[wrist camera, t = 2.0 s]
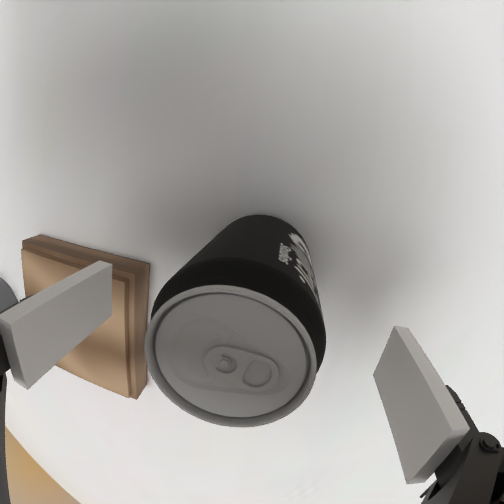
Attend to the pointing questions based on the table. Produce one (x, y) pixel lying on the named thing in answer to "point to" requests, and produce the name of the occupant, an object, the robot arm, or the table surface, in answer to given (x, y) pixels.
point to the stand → (114, 328)
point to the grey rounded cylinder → (6, 295)
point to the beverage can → (239, 327)
